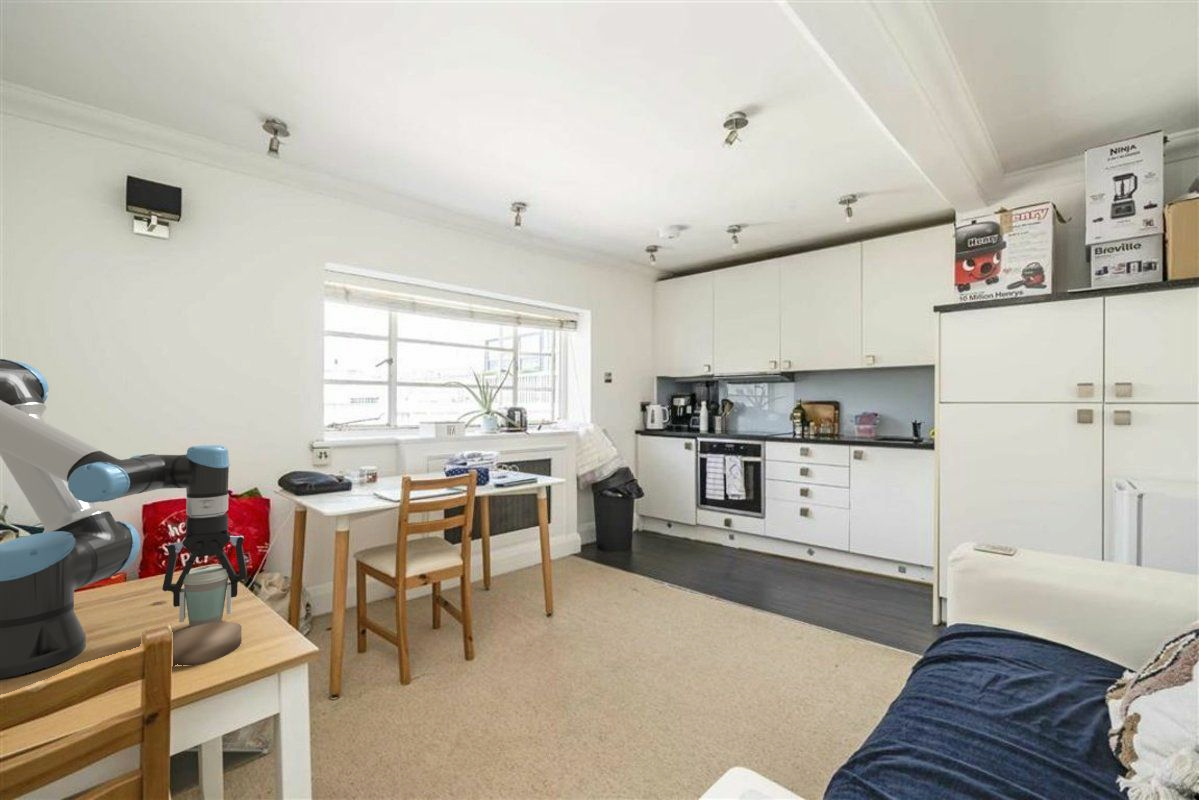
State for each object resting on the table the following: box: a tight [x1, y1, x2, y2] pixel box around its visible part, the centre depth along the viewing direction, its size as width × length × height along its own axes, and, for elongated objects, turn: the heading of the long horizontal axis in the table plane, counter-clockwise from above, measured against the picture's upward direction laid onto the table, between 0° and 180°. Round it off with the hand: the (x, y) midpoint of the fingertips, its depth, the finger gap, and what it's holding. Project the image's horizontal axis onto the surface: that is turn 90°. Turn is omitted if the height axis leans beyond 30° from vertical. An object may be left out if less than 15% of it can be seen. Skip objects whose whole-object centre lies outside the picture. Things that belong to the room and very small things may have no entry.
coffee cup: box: [183, 564, 229, 628], centre depth 115 cm, size 8×8×12 cm
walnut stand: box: [172, 621, 243, 668], centre depth 103 cm, size 13×13×3 cm
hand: (206, 615), depth 115 cm, fingers closed on coffee cup, 8 cm apart
